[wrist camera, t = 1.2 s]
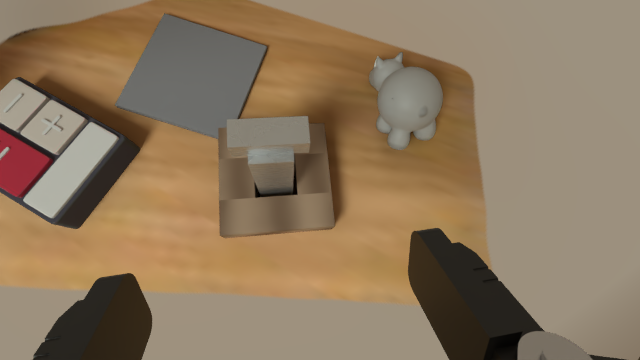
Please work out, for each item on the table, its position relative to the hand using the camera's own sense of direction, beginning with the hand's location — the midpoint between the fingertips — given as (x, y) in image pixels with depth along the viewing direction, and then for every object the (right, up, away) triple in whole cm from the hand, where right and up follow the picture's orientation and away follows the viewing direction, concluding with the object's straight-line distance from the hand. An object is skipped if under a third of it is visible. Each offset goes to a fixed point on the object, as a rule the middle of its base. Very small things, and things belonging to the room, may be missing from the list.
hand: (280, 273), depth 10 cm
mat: (-15, +16, +31) cm, 38 cm away
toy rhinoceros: (+10, +12, +33) cm, 37 cm away
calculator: (-29, +5, +28) cm, 40 cm away
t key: (-4, +2, +29) cm, 29 cm away
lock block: (-4, +2, +29) cm, 29 cm away
